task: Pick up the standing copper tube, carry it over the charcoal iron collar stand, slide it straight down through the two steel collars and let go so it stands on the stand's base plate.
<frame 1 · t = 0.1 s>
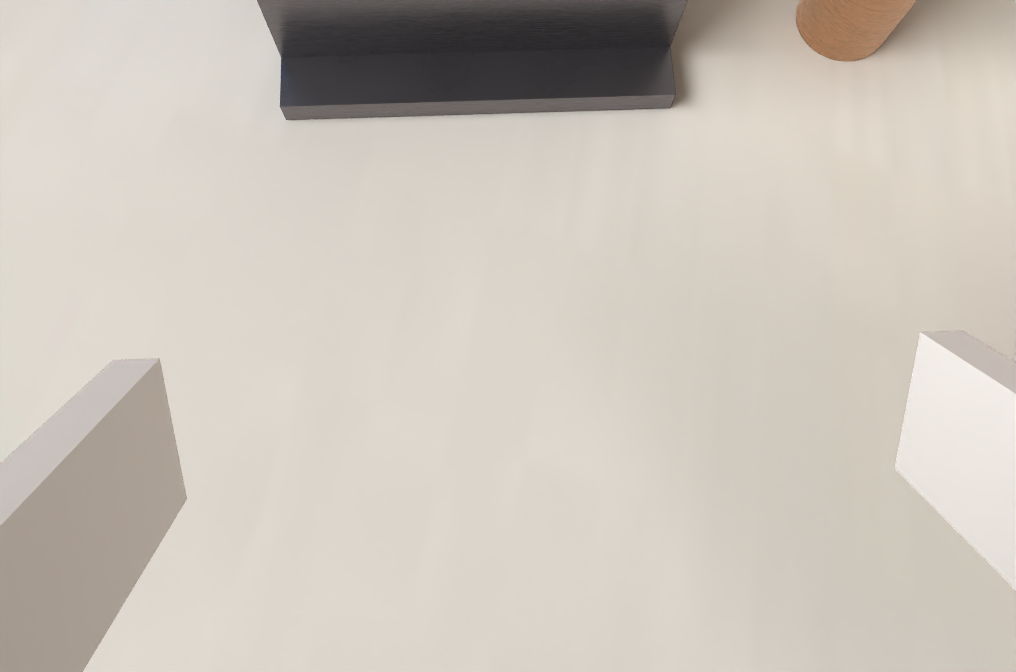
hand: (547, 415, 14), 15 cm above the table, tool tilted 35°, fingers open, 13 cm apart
copper tube: (841, 21, 34), on the table
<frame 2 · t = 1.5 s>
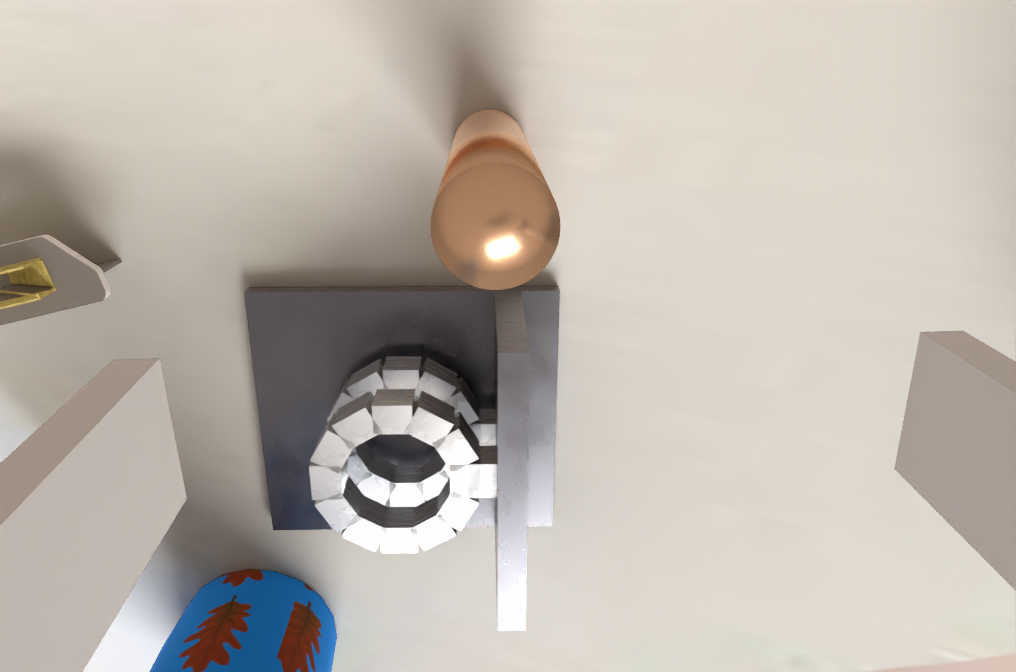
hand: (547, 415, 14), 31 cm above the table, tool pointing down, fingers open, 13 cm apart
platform: (55, 259, 45), on the table
copper tube: (489, 146, 43), on the table
collar stand: (410, 409, 48), on the table
thermos: (261, 629, 54), on the table
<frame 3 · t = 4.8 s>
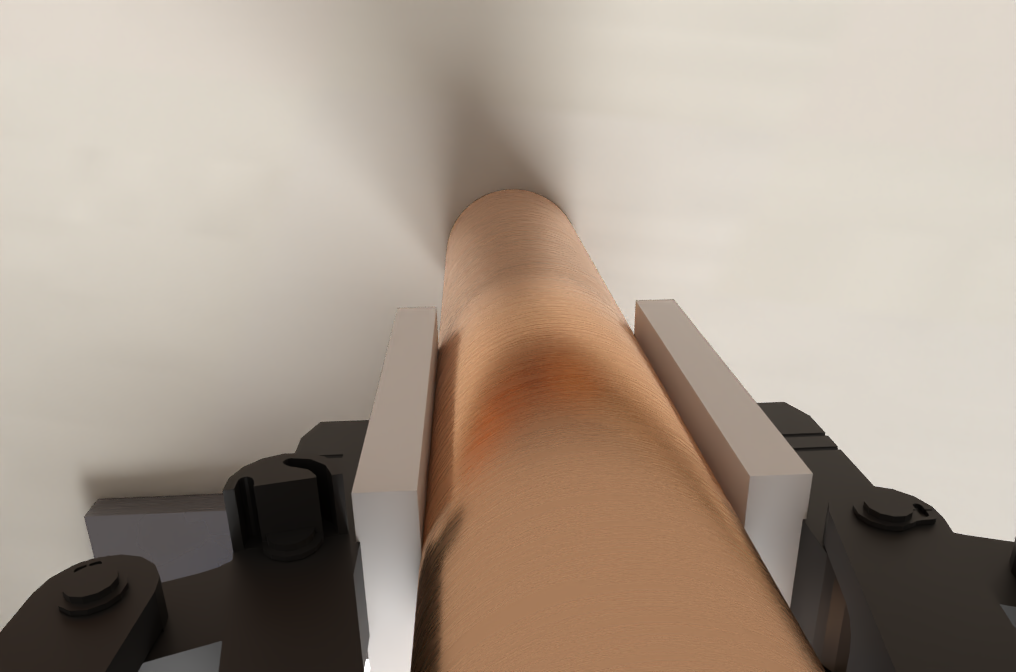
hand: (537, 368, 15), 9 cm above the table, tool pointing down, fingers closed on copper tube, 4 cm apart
copper tube: (512, 254, 24), on the table, touching gripper
collar stand: (386, 670, 29), on the table
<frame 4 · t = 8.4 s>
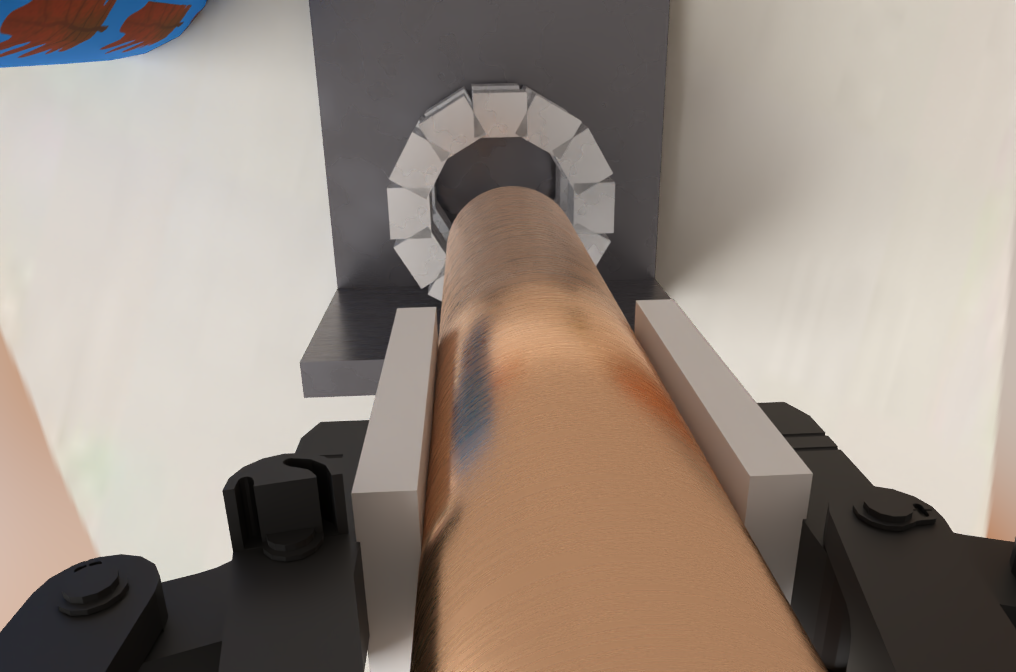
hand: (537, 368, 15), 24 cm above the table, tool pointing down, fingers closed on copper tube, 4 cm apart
copper tube: (511, 251, 24), point 15 cm above the table, touching gripper
collar stand: (494, 175, 38), on the table
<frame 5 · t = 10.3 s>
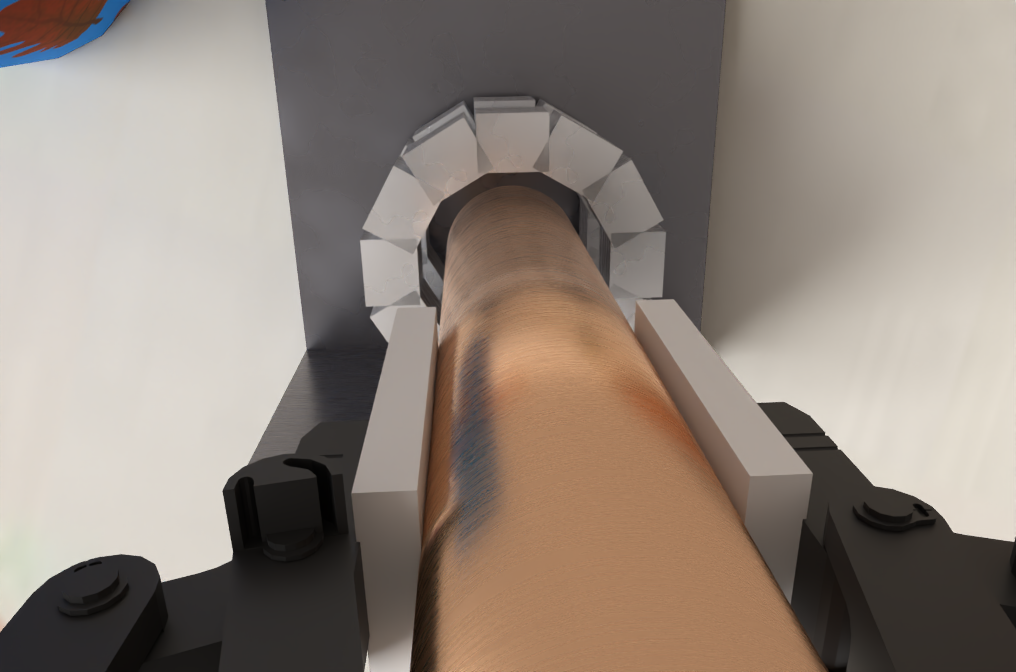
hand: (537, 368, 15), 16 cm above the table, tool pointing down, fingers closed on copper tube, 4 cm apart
copper tube: (511, 250, 24), point 7 cm above the table, touching gripper
collar stand: (501, 209, 30), on the table
when the fingers open (11 cm above the table, at t = 12.0 s): copper tube stays where it is, resting on collar stand.
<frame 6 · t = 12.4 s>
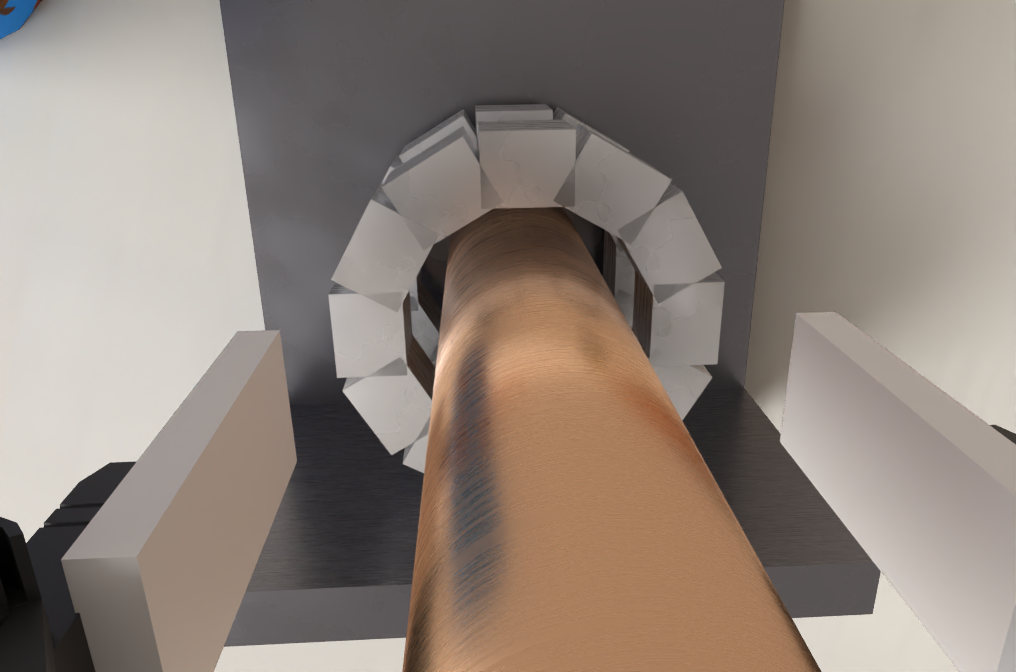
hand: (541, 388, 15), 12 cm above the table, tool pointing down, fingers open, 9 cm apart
copper tube: (512, 246, 24), point 1 cm above the table, touching collar stand
collar stand: (508, 239, 25), on the table
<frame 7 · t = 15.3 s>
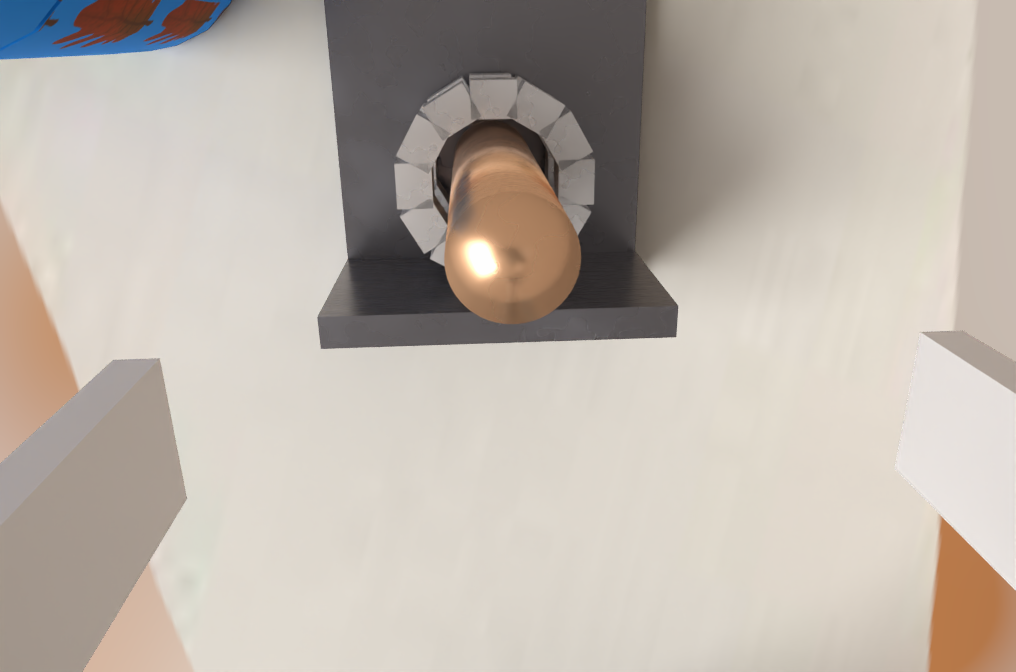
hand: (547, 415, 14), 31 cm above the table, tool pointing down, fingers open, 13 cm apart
copper tube: (491, 159, 41), point 1 cm above the table, touching collar stand
collar stand: (489, 156, 42), on the table
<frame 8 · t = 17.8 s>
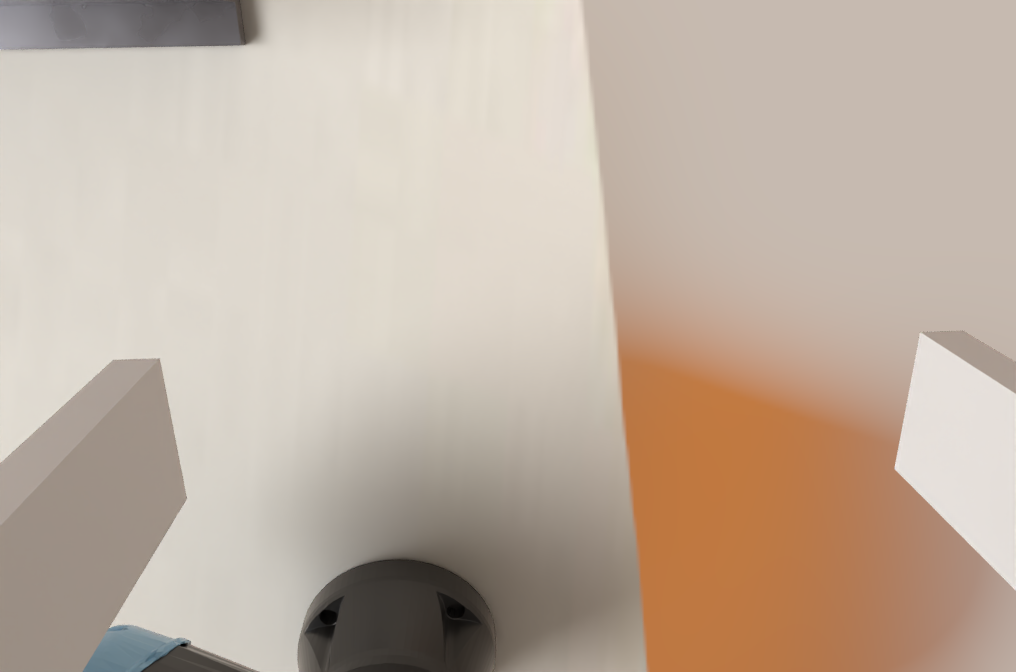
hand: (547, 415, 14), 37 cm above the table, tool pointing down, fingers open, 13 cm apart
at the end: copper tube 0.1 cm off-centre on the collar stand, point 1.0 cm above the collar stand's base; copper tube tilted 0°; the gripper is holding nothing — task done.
